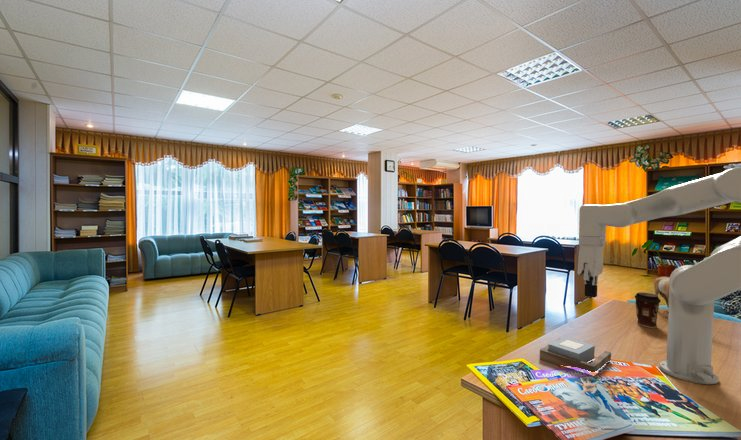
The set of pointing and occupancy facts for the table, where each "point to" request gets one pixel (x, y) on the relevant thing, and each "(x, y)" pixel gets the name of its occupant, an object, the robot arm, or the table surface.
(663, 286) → the horse figurine
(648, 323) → the coffee cup
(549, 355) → the display bay
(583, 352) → the carton
